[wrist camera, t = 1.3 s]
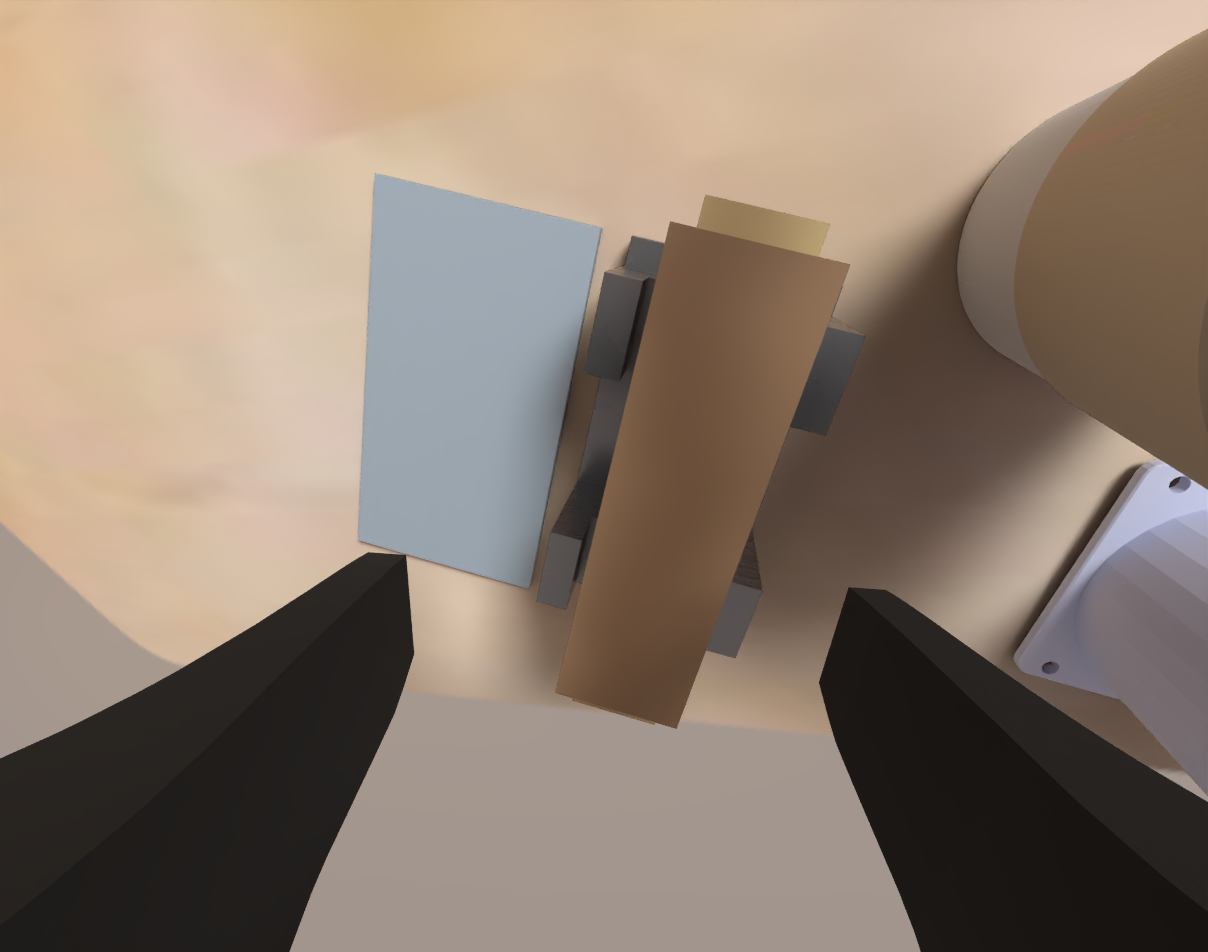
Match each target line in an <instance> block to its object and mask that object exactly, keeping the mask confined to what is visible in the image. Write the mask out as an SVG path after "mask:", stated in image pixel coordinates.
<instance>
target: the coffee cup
mask: <svg viewBox="0 0 1208 952" xmlns="http://www.w3.org/2000/svg"><path fill="white" fill-rule="evenodd" d="M957 276H958V286H959V292H960V296H961V300H962V303H963V306H964V309H965V311H966V314H967V316H968V318H969V320H970V321H971V323H972V325H973V326H974V328H975V329H976V331H977V332H978V333H979V334H980V336H981V337H982V338H983V339H984V340H985V341H986V342H987V343H988V344H989V345H990V346H991V347H993V348H994V349H995V350H996V351H998V352H999V353H1001V354H1002V355H1004V356H1006V357H1007V358H1009V359H1011V360H1012V361H1014V362H1016V363H1017V364H1019V365H1021V366H1022V367H1024V368H1026V369H1028V370H1029V371H1031V372H1033V373H1034V374H1036V375H1038V376H1039V377H1041V378H1043V379H1045V380H1046V381H1047V382H1048V383H1049V384H1050V385H1051V387H1052V388H1053V389H1054V390H1056V391H1057V392H1058V393H1059V394H1060V395H1061V396H1062V397H1063V398H1065V399H1066V400H1068V401H1069V402H1070V403H1072V404H1073V405H1074V406H1076V407H1078V408H1079V409H1081V410H1082V411H1084V412H1086V413H1087V414H1089V415H1090V416H1092V417H1093V418H1095V419H1097V420H1098V421H1100V422H1101V423H1103V424H1104V425H1106V426H1108V427H1109V428H1111V429H1112V430H1114V431H1116V432H1117V433H1119V434H1120V435H1122V436H1123V437H1125V438H1127V439H1128V440H1130V441H1131V442H1133V443H1135V444H1136V445H1138V446H1139V447H1141V448H1142V449H1144V450H1146V451H1147V452H1149V453H1150V454H1152V455H1153V456H1155V457H1157V458H1158V459H1160V460H1161V461H1163V462H1165V463H1166V464H1168V465H1169V466H1171V467H1172V468H1174V469H1176V470H1177V471H1179V472H1180V473H1182V474H1183V475H1185V476H1187V477H1188V478H1190V479H1191V480H1193V481H1195V482H1196V483H1198V484H1199V485H1201V486H1202V487H1204V488H1206V489H1207V490H1208V29H1207V30H1205V31H1203V32H1201V33H1199V34H1197V35H1195V36H1193V37H1191V38H1189V39H1188V40H1186V41H1184V42H1182V43H1181V44H1179V45H1177V46H1175V47H1174V48H1172V49H1171V50H1169V51H1167V52H1166V53H1164V54H1163V55H1161V56H1160V57H1158V58H1157V59H1155V60H1154V61H1152V62H1151V63H1150V64H1148V65H1147V66H1145V67H1144V68H1143V69H1141V70H1140V71H1139V72H1137V73H1136V74H1135V75H1133V76H1131V77H1129V78H1127V79H1125V80H1123V81H1121V82H1119V83H1117V84H1115V85H1113V86H1111V87H1109V88H1107V89H1105V90H1103V91H1101V92H1099V93H1097V94H1095V95H1093V96H1091V97H1089V98H1087V99H1085V100H1083V101H1081V102H1079V103H1077V104H1075V105H1073V106H1071V107H1069V108H1068V109H1066V110H1064V111H1062V112H1060V113H1058V114H1057V115H1055V116H1053V117H1052V118H1050V119H1048V120H1047V121H1045V122H1044V123H1042V124H1041V125H1040V126H1038V127H1037V128H1035V129H1034V130H1033V131H1032V132H1030V133H1029V134H1028V135H1027V136H1025V137H1024V138H1023V139H1022V140H1021V141H1020V142H1019V143H1018V144H1017V145H1015V146H1014V147H1013V148H1012V149H1011V150H1010V151H1009V153H1008V154H1007V155H1006V156H1005V157H1004V158H1003V159H1002V160H1001V161H1000V163H999V164H998V165H997V166H996V168H995V169H994V170H993V171H992V173H991V174H990V176H989V177H988V178H987V180H986V181H985V183H984V185H983V186H982V188H981V190H980V191H979V193H978V195H977V197H976V199H975V201H974V203H973V205H972V207H971V209H970V211H969V214H968V216H967V219H966V222H965V225H964V228H963V231H962V235H961V239H960V244H959V250H958V260H957Z"/></svg>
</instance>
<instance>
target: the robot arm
mask: <svg viewBox="0 0 1208 952" xmlns="http://www.w3.org/2000/svg"><path fill="white" fill-rule="evenodd" d="M1177 477H1181V478H1180V480H1179V482H1178V483H1177V484H1176V485H1175V486H1173V487H1170V488H1169V484H1170V482H1171V481H1172V480H1173V479H1175V478H1177ZM413 656H414V646H413V634H412V622H411V610H410V597H409V585H408V573H407V561H406V555H398V554H384V553H370V552H368V553H366V554H365V555H363V556H361V557H359V558H358V559H356V560H354V561H353V562H351V563H350V564H348V565H346V566H345V567H343V568H342V569H340V570H339V571H337V572H336V573H334V574H333V575H331V576H330V577H328V578H327V579H325V580H324V581H322V582H321V583H319V584H317V585H316V586H314V587H313V588H311V589H310V590H308V591H307V592H305V593H304V594H302V595H301V596H299V597H298V598H296V599H295V600H293V601H291V602H290V603H288V604H287V605H285V606H284V607H282V608H281V609H279V610H277V611H276V612H274V613H273V614H271V615H270V616H268V617H267V618H265V619H264V620H262V621H260V622H259V623H257V624H256V625H254V626H252V627H251V628H249V629H247V630H246V631H244V632H242V633H241V634H239V635H237V636H236V637H234V638H232V639H231V640H229V641H227V642H226V643H224V644H222V645H220V646H219V647H217V648H215V649H214V650H212V651H210V652H209V653H207V654H205V655H204V656H202V657H200V658H199V659H197V660H195V661H194V662H192V663H190V664H188V665H187V666H185V667H183V668H182V669H180V670H179V671H176V672H175V673H173V674H171V675H169V676H167V677H166V678H164V679H162V680H160V681H158V682H157V683H155V684H153V685H151V686H149V687H147V688H145V689H143V690H142V691H140V692H138V693H136V694H134V695H132V696H130V697H128V698H126V699H124V700H122V701H120V702H119V703H116V704H114V705H112V706H110V707H108V708H107V709H105V710H103V711H101V712H99V713H97V714H95V715H93V716H91V717H89V718H87V719H85V720H83V721H81V722H79V723H77V724H75V725H73V726H71V727H68V728H66V729H64V730H63V731H60V732H58V733H56V734H54V735H52V736H49V737H47V738H45V739H43V740H40V741H38V742H36V743H34V744H32V745H29V746H27V747H25V748H23V749H21V750H18V751H16V752H14V753H12V754H9V755H7V756H5V757H3V758H0V952H289V951H290V949H291V946H292V943H293V941H294V938H295V935H296V932H297V930H298V927H299V924H300V922H301V919H302V916H303V914H304V911H305V908H306V906H307V903H308V900H309V898H310V895H311V892H312V890H313V888H314V886H315V883H316V881H317V879H318V876H319V874H320V872H321V869H322V867H323V865H324V862H325V860H326V858H327V856H328V853H329V851H330V849H331V847H332V845H333V843H334V841H335V839H336V837H337V834H338V832H339V830H340V828H341V826H342V824H343V822H344V820H345V817H346V816H347V813H348V811H349V809H350V807H351V805H352V803H353V801H354V799H355V797H356V794H357V792H358V790H359V788H360V786H361V784H362V782H363V780H364V778H365V776H366V773H367V771H368V769H369V767H370V765H371V763H372V761H373V759H374V757H375V754H376V752H377V750H378V748H379V746H380V744H381V741H382V739H383V737H384V735H385V733H386V731H387V729H388V727H389V724H390V722H391V720H392V718H393V716H394V713H395V711H396V708H397V705H398V702H399V699H400V696H401V693H402V690H403V687H404V684H405V681H406V678H407V675H408V672H409V669H410V665H411V662H412V659H413ZM1014 662H1015V663H1016V665H1017V666H1018V667H1019V669H1020V670H1021V671H1022V672H1024V673H1026V674H1029V675H1033V676H1037V677H1040V678H1044V679H1047V680H1051V681H1055V682H1058V683H1062V684H1065V685H1069V686H1072V687H1076V688H1080V689H1083V690H1087V691H1090V692H1094V693H1097V694H1101V695H1105V696H1108V697H1112V698H1115V699H1119V700H1121V701H1122V702H1123V703H1124V704H1125V705H1126V706H1127V707H1128V709H1129V710H1130V711H1131V712H1132V713H1133V714H1134V715H1135V716H1136V717H1137V718H1138V720H1139V721H1140V722H1141V723H1142V724H1143V725H1144V726H1145V727H1146V728H1147V730H1148V731H1149V732H1150V733H1151V734H1152V735H1153V736H1154V737H1155V738H1156V739H1157V741H1158V742H1159V743H1160V744H1161V745H1162V746H1163V747H1164V748H1165V749H1166V751H1167V752H1168V753H1169V754H1170V755H1171V756H1172V757H1173V758H1174V759H1175V760H1176V762H1177V763H1178V764H1179V765H1180V766H1181V767H1182V768H1183V769H1184V770H1185V772H1186V773H1187V774H1188V775H1189V776H1190V777H1191V778H1192V779H1193V780H1194V781H1195V783H1196V784H1197V785H1198V786H1199V787H1200V788H1201V789H1202V790H1203V791H1204V793H1205V794H1206V795H1207V796H1208V490H1207V489H1206V488H1204V487H1202V486H1201V485H1199V484H1198V483H1196V482H1195V481H1193V480H1191V479H1190V478H1188V477H1187V476H1185V475H1183V474H1182V473H1180V472H1179V471H1177V470H1176V469H1174V468H1172V467H1171V466H1169V465H1168V464H1166V463H1165V462H1163V461H1161V460H1153V461H1149V462H1147V463H1145V464H1143V465H1142V466H1140V467H1139V469H1138V470H1137V471H1136V472H1135V473H1134V475H1133V476H1132V478H1131V479H1130V481H1129V482H1128V484H1127V485H1126V487H1125V488H1124V490H1123V491H1122V493H1121V494H1120V496H1119V497H1118V499H1117V500H1116V502H1115V504H1114V505H1113V507H1112V508H1111V510H1110V511H1109V513H1108V514H1107V516H1106V517H1105V519H1104V520H1103V522H1102V523H1101V525H1100V526H1099V528H1098V529H1097V531H1096V532H1095V534H1094V535H1093V537H1092V538H1091V540H1090V541H1089V543H1088V544H1087V546H1086V547H1085V549H1084V550H1083V552H1082V553H1081V555H1080V556H1079V558H1078V559H1077V561H1076V562H1075V564H1074V565H1073V567H1072V568H1071V570H1070V571H1069V573H1068V574H1067V576H1066V577H1065V579H1064V580H1063V582H1062V583H1061V585H1060V586H1059V588H1058V589H1057V591H1056V592H1055V594H1054V595H1053V597H1052V598H1051V600H1050V601H1049V603H1048V604H1047V606H1046V607H1045V609H1044V610H1043V612H1042V613H1041V615H1040V616H1039V618H1038V619H1037V621H1036V622H1035V624H1034V625H1033V627H1032V628H1031V630H1030V631H1029V633H1028V634H1027V636H1026V637H1025V639H1024V640H1023V642H1022V643H1021V645H1020V646H1019V648H1018V649H1017V651H1016V652H1015V655H1014ZM1047 662H1052V663H1050V664H1049V665H1047V666H1042V665H1044V664H1045V663H1047ZM819 684H820V688H821V692H822V695H823V699H824V703H825V707H826V711H827V715H828V718H829V721H830V725H831V728H832V731H833V735H834V738H835V741H836V744H837V747H838V749H839V752H840V754H841V756H842V759H843V761H844V764H845V766H846V769H847V771H848V773H849V775H850V778H851V781H852V783H853V785H854V788H855V790H856V792H857V795H858V797H859V800H860V802H861V804H862V807H863V809H864V811H865V814H866V816H867V818H868V821H869V823H870V825H871V828H872V830H873V832H874V835H875V837H876V839H877V842H878V844H879V846H880V849H881V851H882V853H883V856H884V858H885V860H886V863H887V865H888V867H889V870H890V872H891V874H892V877H893V879H894V881H895V884H896V886H897V888H898V891H899V893H900V896H901V898H902V901H903V904H904V906H905V909H906V911H907V914H908V916H909V919H910V921H911V924H912V927H913V929H914V932H915V935H916V938H917V941H918V944H919V947H920V951H921V952H1208V802H1207V801H1205V800H1203V799H1202V798H1200V797H1198V796H1196V795H1195V794H1193V793H1192V792H1190V791H1188V790H1186V789H1185V788H1183V787H1181V786H1180V785H1178V784H1176V783H1174V782H1173V781H1171V780H1169V779H1168V778H1166V777H1164V776H1163V775H1161V774H1159V773H1158V772H1156V771H1154V770H1152V769H1151V768H1149V767H1147V766H1146V765H1144V764H1142V763H1141V762H1139V761H1137V760H1136V759H1134V758H1133V757H1131V756H1129V755H1128V754H1126V753H1124V752H1123V751H1121V750H1120V749H1118V748H1116V747H1115V746H1113V745H1112V744H1110V743H1108V742H1107V741H1105V740H1104V739H1102V738H1101V737H1099V736H1098V735H1096V734H1095V733H1093V732H1092V731H1090V730H1089V729H1087V728H1085V727H1084V726H1082V725H1081V724H1079V723H1078V722H1076V721H1075V720H1073V719H1072V718H1070V717H1069V716H1067V715H1066V714H1064V713H1063V712H1061V711H1060V710H1058V709H1056V708H1055V707H1053V706H1052V705H1050V704H1049V703H1048V702H1046V701H1045V700H1043V699H1042V698H1040V697H1039V696H1037V695H1036V694H1034V693H1033V692H1031V691H1030V690H1029V689H1027V688H1026V687H1024V686H1023V685H1021V684H1020V683H1018V682H1017V681H1016V680H1014V679H1013V678H1011V677H1010V676H1008V675H1007V674H1006V673H1004V672H1003V671H1001V670H1000V669H999V668H997V667H996V666H994V665H993V664H992V663H990V662H989V661H987V660H986V659H985V658H983V657H982V656H980V655H979V654H978V653H976V652H975V651H973V650H972V649H971V648H969V647H968V646H966V645H965V644H964V643H962V642H961V641H959V640H958V639H957V638H955V637H954V636H953V635H951V634H950V633H948V632H947V631H946V630H944V629H943V628H941V627H940V626H939V625H937V624H936V623H934V622H933V621H932V620H930V619H929V618H927V617H926V616H925V615H923V614H922V613H920V612H919V611H917V610H916V609H915V608H913V607H912V606H910V605H909V604H907V603H906V602H904V601H903V600H901V599H900V598H898V597H896V596H895V595H893V594H891V593H890V592H888V591H886V590H878V589H864V588H850V587H849V588H848V591H847V594H846V598H845V601H844V604H843V607H842V610H841V614H840V617H839V620H838V623H837V626H836V630H835V633H834V636H833V639H832V642H831V646H830V649H829V652H828V655H827V658H826V662H825V665H824V668H823V671H822V674H821V678H820V681H819Z"/></svg>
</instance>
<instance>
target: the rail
mask: <svg viewBox="0 0 1208 952" xmlns="http://www.w3.org/2000/svg"><path fill="white" fill-rule="evenodd" d="M829 226H830V224H828V223H824V222H820V221H816V220H811V219H807V218H803V217H799V216H794V215H790V214H786V213H781V212H777V211H773V210H769V209H764V208H760V207H756V206H752V205H747V204H743V203H739V202H735V201H730V200H726V199H722V198H718V197H713V196H709V195H705V198H704V202H703V206H702V210H701V213H700V217H699V221H698V225H697V228H695V227H691V226H687V225H683V224H679V223H675V222H670V224H669V228H668V233H667V237H666V241H665V245H664V249H663V253H662V257H661V261H660V265H659V269H658V274H657V278H656V282H655V286H654V290H653V294H652V298H651V302H650V306H649V310H648V315H647V319H646V323H645V327H644V331H643V335H642V339H641V343H640V347H639V351H638V356H637V360H636V364H635V368H634V372H633V376H632V380H631V384H630V388H629V393H628V397H627V401H626V405H625V409H624V413H623V417H622V421H621V425H620V429H619V434H618V438H617V442H616V446H615V450H614V454H613V458H612V462H611V466H610V470H609V475H608V479H607V483H606V487H605V491H604V495H603V499H602V503H601V507H600V511H599V516H598V520H597V524H596V528H595V532H594V536H593V540H592V544H591V548H590V552H589V557H588V561H587V565H586V569H585V573H584V577H583V581H582V585H581V589H580V593H579V598H578V602H577V606H576V610H575V614H574V618H573V622H572V626H571V630H570V634H569V639H568V643H567V647H566V651H565V655H564V659H563V663H562V667H561V671H560V676H559V680H558V684H557V688H556V692H555V693H558V694H561V695H565V696H568V697H571V698H573V701H576V702H579V703H583V704H586V705H589V706H593V707H596V708H600V709H603V710H606V711H610V712H613V713H616V714H620V715H623V716H626V717H630V718H633V719H637V720H640V721H643V722H647V723H650V724H655V722H656V723H659V724H662V725H666V726H669V727H673V728H677V726H678V723H679V721H680V718H681V715H682V713H683V710H684V707H685V705H686V702H687V699H688V697H689V694H690V691H691V689H692V686H693V683H694V681H695V678H696V675H697V673H698V670H699V667H700V665H701V662H702V659H703V657H704V654H705V651H706V649H707V646H708V643H709V641H710V638H711V635H712V633H713V630H714V627H715V625H716V622H717V619H718V617H719V614H720V611H721V609H722V606H723V603H724V601H725V598H726V595H727V593H728V590H729V587H730V585H731V582H732V579H733V577H734V574H735V571H736V569H737V566H738V563H739V561H740V558H741V555H742V553H743V550H744V547H745V545H746V542H747V539H748V537H749V534H750V531H751V529H752V526H753V523H754V521H755V518H756V515H757V513H758V510H759V507H760V504H761V502H762V499H763V496H764V494H765V491H766V488H767V486H768V483H769V480H770V478H771V475H772V472H773V470H774V467H775V464H776V462H777V459H778V456H779V454H780V451H781V448H782V446H783V443H784V440H785V438H786V435H787V432H788V430H789V427H790V424H791V422H792V419H793V416H794V414H795V411H796V408H797V406H798V403H799V400H800V398H801V395H802V392H803V390H804V387H805V384H806V382H807V379H808V376H809V374H810V371H811V368H812V366H813V363H814V360H815V358H816V355H817V352H818V350H819V347H820V344H821V342H822V339H823V336H824V334H825V331H826V328H827V326H828V323H829V320H830V318H831V315H832V312H833V310H834V307H835V304H836V302H837V299H838V296H839V294H840V291H841V288H842V286H843V283H844V280H845V278H846V275H847V272H848V270H849V267H850V264H846V263H842V262H838V261H833V260H829V259H825V258H821V257H819V254H820V252H821V249H822V246H823V243H824V240H825V237H826V234H827V232H828V229H829Z"/></svg>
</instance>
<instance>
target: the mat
mask: <svg viewBox="0 0 1208 952" xmlns="http://www.w3.org/2000/svg"><path fill="white" fill-rule="evenodd" d="M601 232H602V228H600V227H596V226H591V225H587V224H583V223H579V222H575V221H571V220H567V219H563V218H558V217H554V216H550V215H546V214H542V213H538V212H534V211H529V210H525V209H521V208H517V207H513V206H509V205H505V204H501V203H496V202H492V201H488V200H484V199H480V198H476V197H472V196H467V195H463V194H459V193H455V192H451V191H447V190H443V189H439V188H434V187H430V186H426V185H422V184H418V183H414V182H410V181H405V180H401V179H397V178H393V177H389V176H385V175H381V174H376V173H375V181H374V203H373V225H372V247H371V269H370V291H369V313H368V334H367V356H366V378H365V400H364V422H363V444H362V466H361V488H360V510H359V532H358V540H359V541H362V542H366V543H369V544H373V545H376V546H380V547H383V548H387V549H390V550H394V551H397V552H401V553H404V554H408V555H411V556H415V557H418V558H422V559H425V560H429V561H432V562H436V563H439V564H443V565H446V566H450V567H453V568H457V569H460V570H464V571H467V572H471V573H474V574H478V575H481V576H485V577H488V578H492V579H495V580H499V581H502V582H506V583H509V584H513V585H516V586H520V587H523V588H527V589H529V588H530V586H531V583H532V578H533V573H534V568H535V563H536V558H537V553H538V548H539V543H540V538H541V533H542V528H543V523H544V518H545V513H546V508H547V503H548V498H549V493H550V488H551V483H552V478H553V473H554V468H555V463H556V458H557V453H558V448H559V443H560V438H561V433H562V428H563V423H564V418H565V413H566V408H567V403H568V398H569V393H570V388H571V383H572V378H573V373H574V368H575V363H576V358H577V353H578V348H579V343H580V337H581V332H582V327H583V322H584V317H585V312H586V307H587V302H588V297H589V292H590V287H591V282H592V277H593V272H594V267H595V262H596V257H597V252H598V247H599V242H600V237H601Z"/></svg>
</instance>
